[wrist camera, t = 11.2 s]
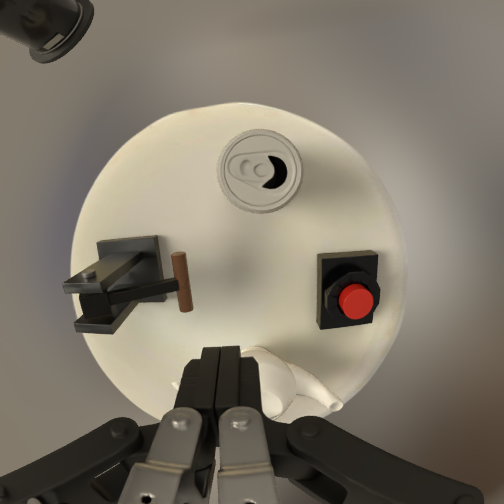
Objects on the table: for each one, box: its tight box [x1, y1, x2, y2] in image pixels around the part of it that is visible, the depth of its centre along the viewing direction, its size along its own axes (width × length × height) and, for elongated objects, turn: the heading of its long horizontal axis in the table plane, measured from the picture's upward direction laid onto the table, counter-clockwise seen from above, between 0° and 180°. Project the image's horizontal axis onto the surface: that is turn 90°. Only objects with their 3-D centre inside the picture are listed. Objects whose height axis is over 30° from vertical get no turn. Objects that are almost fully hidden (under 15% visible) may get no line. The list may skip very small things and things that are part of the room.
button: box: [339, 284, 373, 319], centre depth 30 cm, size 4×4×2 cm
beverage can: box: [217, 129, 303, 214], centre depth 25 cm, size 6×6×12 cm
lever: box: [79, 252, 193, 319], centre depth 26 cm, size 11×6×2 cm, turn 94°
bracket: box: [63, 235, 167, 334], centre depth 28 cm, size 8×8×12 cm
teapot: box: [171, 346, 343, 421], centre depth 32 cm, size 10×20×9 cm, turn 86°
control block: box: [316, 250, 380, 330], centre depth 32 cm, size 9×7×4 cm
